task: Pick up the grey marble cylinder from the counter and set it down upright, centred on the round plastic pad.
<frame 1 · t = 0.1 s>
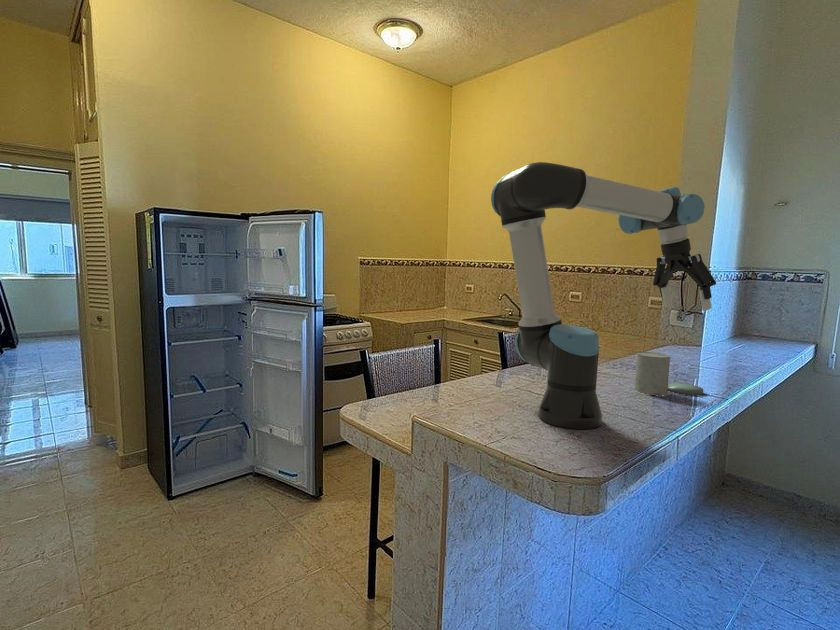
hand: (687, 307, 134), 28 cm above the worktop, tool tilted 20°, fingers open, 13 cm apart
grey marble cylinder: (650, 393, 140), on the worktop
pad: (683, 391, 142), on the worktop
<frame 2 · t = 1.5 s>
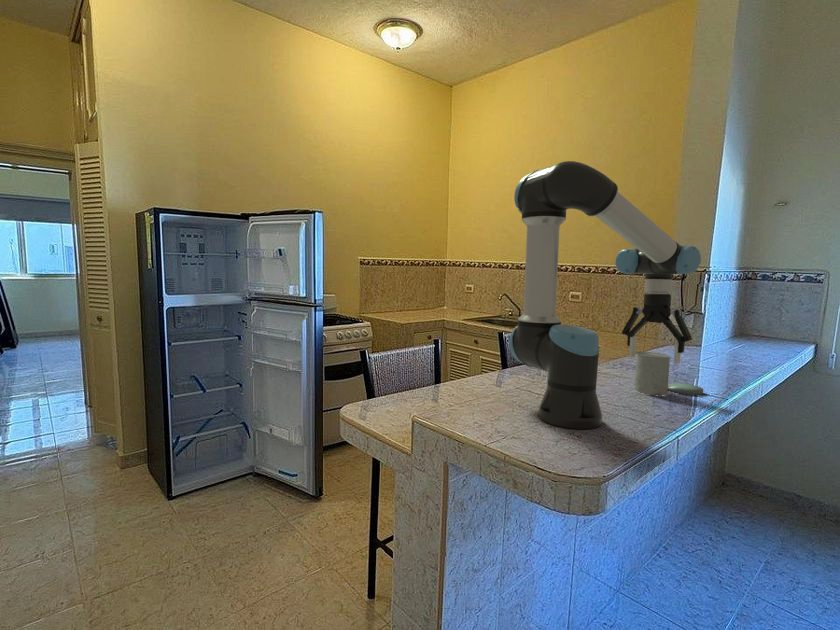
hand: (653, 359, 139), 11 cm above the worktop, tool pointing down, fingers open, 13 cm apart
nothing on the worktop moved.
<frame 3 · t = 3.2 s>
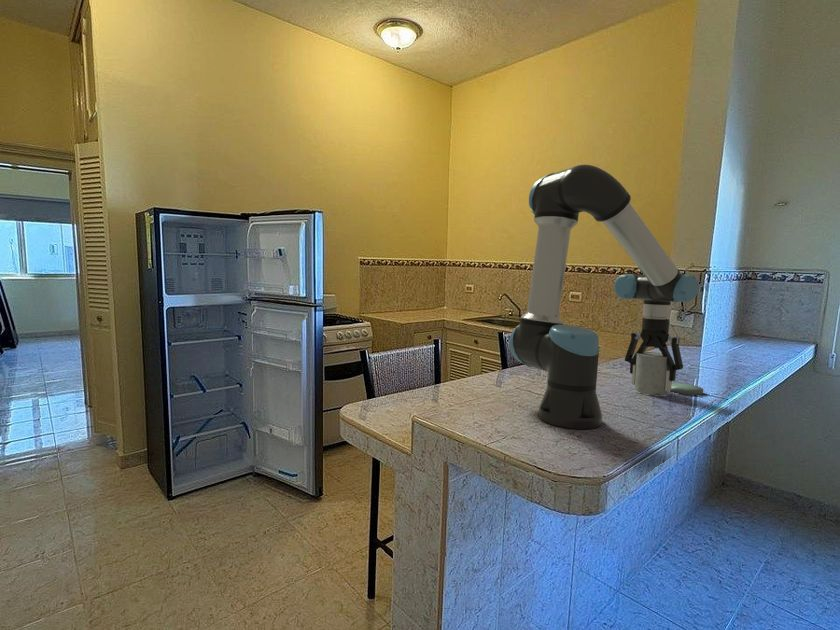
hand: (650, 387, 140), 2 cm above the worktop, tool pointing down, fingers closed on grey marble cylinder, 9 cm apart
grey marble cylinder: (650, 392, 140), on the worktop, touching gripper
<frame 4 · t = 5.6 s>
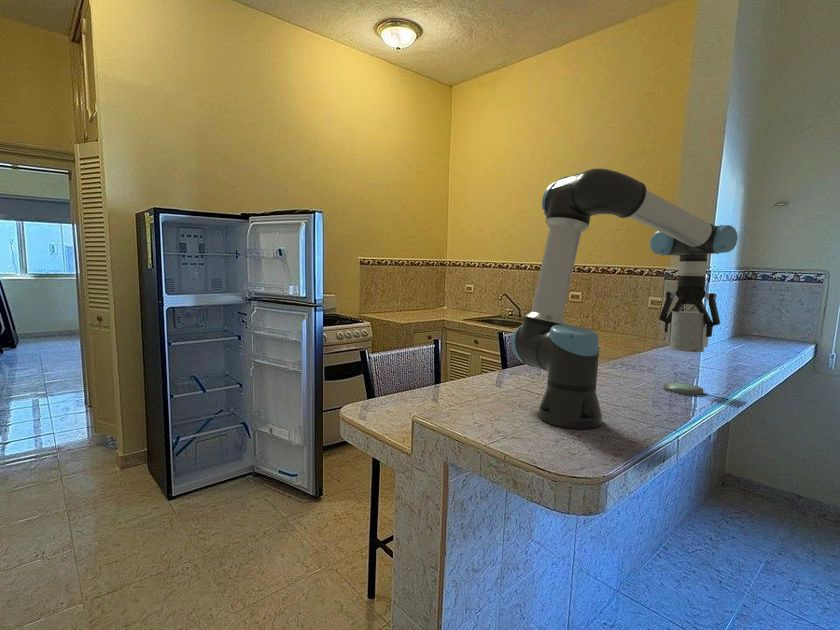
hand: (686, 344, 141), 15 cm above the worktop, tool pointing down, fingers closed on grey marble cylinder, 9 cm apart
grey marble cylinder: (686, 350, 141), point 14 cm above the worktop, touching gripper
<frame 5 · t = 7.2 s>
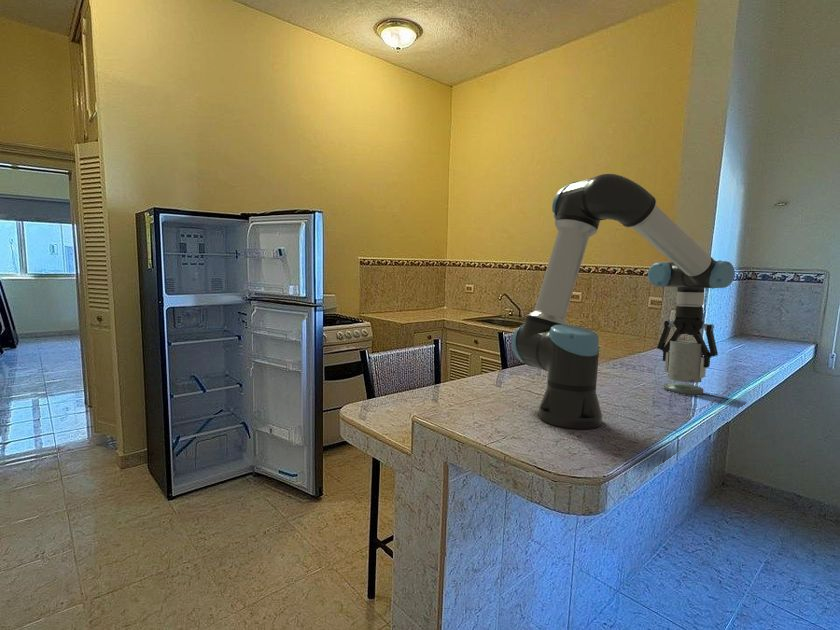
hand: (684, 374, 142), 6 cm above the worktop, tool pointing down, fingers closed on grey marble cylinder, 9 cm apart
grey marble cylinder: (684, 379, 142), point 4 cm above the worktop, touching gripper
when the fingers open (5 cm above the worktop, at t = 8.4 s): grey marble cylinder drops 1 cm, resting on pad.
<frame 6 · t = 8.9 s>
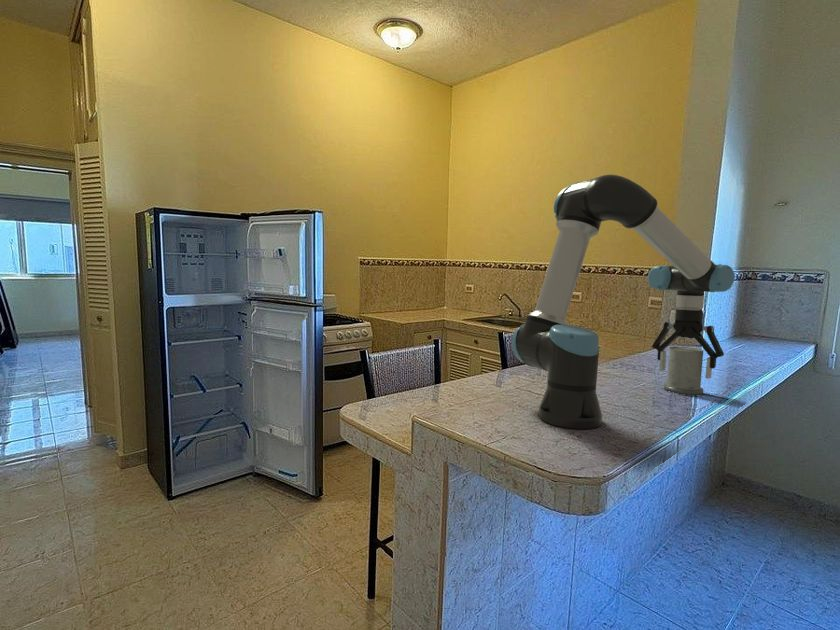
hand: (684, 374, 142), 6 cm above the worktop, tool pointing down, fingers open, 13 cm apart
grey marble cylinder: (683, 386, 142), point 1 cm above the worktop, touching pad
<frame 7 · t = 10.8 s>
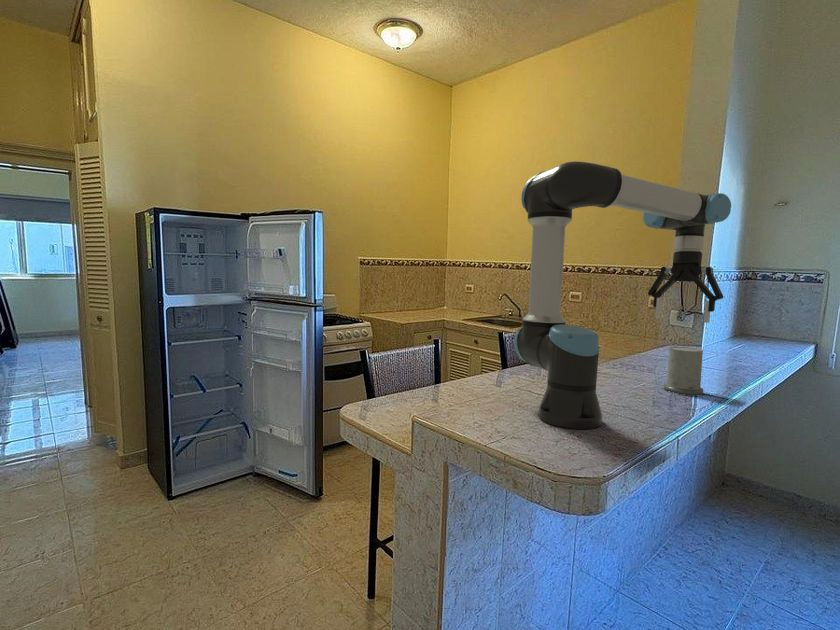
hand: (681, 320, 135), 24 cm above the worktop, tool pointing down, fingers open, 13 cm apart
nothing on the worktop moved.
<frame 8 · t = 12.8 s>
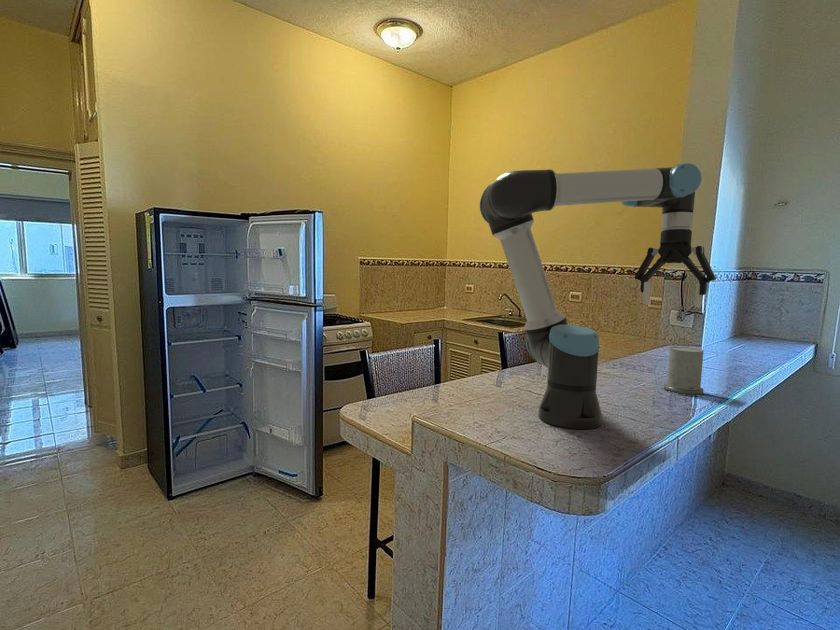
hand: (670, 305, 123), 29 cm above the worktop, tool pointing down, fingers open, 13 cm apart
nothing on the worktop moved.
at the end: grey marble cylinder 0.0 cm from the pad (horizontally); grey marble cylinder tilted 0°; grey marble cylinder point 1.4 cm above the worktop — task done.
